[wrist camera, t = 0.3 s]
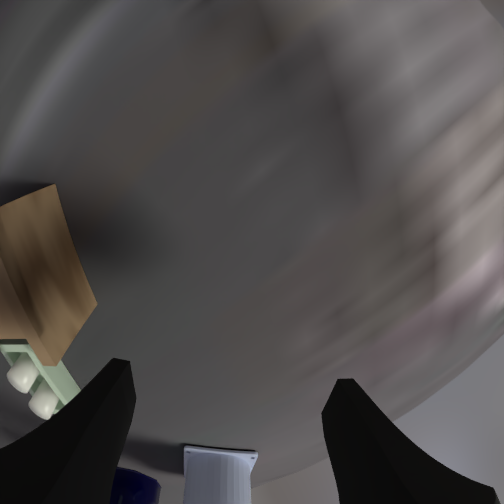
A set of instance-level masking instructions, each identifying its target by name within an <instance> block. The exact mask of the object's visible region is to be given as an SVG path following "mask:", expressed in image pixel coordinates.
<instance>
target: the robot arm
mask: <svg viewBox="0 0 504 504" xmlns="http://www.w3.org/2000/svg"><path fill="white" fill-rule="evenodd" d="M135 403H136V394H135V388H134V383H133V377H132V371H131V365H130V361H127V360H122V359H117V358H113V359H111V360H110V361H109V362H108V363H107V365H106V366H105V367H104V368H103V369H102V370H101V371H100V372H99V373H98V374H97V375H96V376H95V377H94V378H93V379H92V380H91V381H90V382H89V383H88V384H87V385H86V386H85V387H84V388H83V389H82V390H81V391H80V392H79V393H78V394H77V395H76V396H75V397H74V398H73V399H72V400H71V401H70V402H68V403H67V404H66V405H65V406H64V407H63V408H62V409H60V410H59V411H58V412H57V413H56V414H55V415H53V416H52V417H51V418H50V419H48V420H47V421H46V422H44V423H43V424H42V425H40V426H39V427H37V428H36V429H34V430H33V431H31V432H30V433H28V434H27V435H25V436H23V437H22V438H20V439H19V440H17V441H15V442H13V443H11V444H9V445H7V446H5V447H3V448H1V449H0V504H110V497H111V490H112V484H113V479H114V475H115V471H116V468H117V465H118V462H119V459H120V455H121V452H122V449H123V446H124V443H125V440H126V437H127V434H128V431H129V428H130V425H131V422H132V417H133V413H134V408H135ZM321 414H322V423H323V431H324V438H325V442H326V446H327V450H328V453H329V457H330V461H331V465H332V468H333V472H334V476H335V480H336V483H337V488H338V493H339V501H340V504H500V501H499V499H498V497H497V495H496V493H495V490H494V488H493V487H490V486H487V485H484V484H481V483H478V482H476V481H473V480H471V479H469V478H467V477H465V476H462V475H460V474H458V473H457V472H455V471H453V470H451V469H449V468H448V467H446V466H444V465H443V464H441V463H440V462H438V461H437V460H435V459H434V458H432V457H431V456H429V455H428V454H427V453H425V452H424V451H423V450H422V449H420V448H419V447H418V446H417V445H415V444H414V443H413V442H412V441H411V440H410V439H409V438H408V437H406V436H405V435H404V434H403V433H402V432H401V431H400V430H399V429H398V428H397V427H396V426H395V425H394V424H393V423H392V422H391V421H390V420H389V419H388V418H387V416H386V415H385V414H384V413H383V412H382V411H381V410H380V409H379V408H378V407H377V405H376V404H375V403H374V402H373V401H372V400H371V399H370V397H369V396H368V395H367V394H366V393H365V392H364V390H363V389H362V388H361V387H360V386H359V385H358V384H357V382H356V381H355V380H354V379H337V382H336V384H335V386H334V388H333V390H332V392H331V395H330V397H329V399H328V401H327V403H326V405H325V407H324V409H323V411H322V413H321ZM257 457H258V453H257V452H252V451H235V450H223V449H212V448H204V447H196V446H188V445H187V446H184V478H186V480H185V490H184V500H183V504H251V488H250V473H251V471H252V468H253V466H254V464H255V462H256V460H257Z"/></svg>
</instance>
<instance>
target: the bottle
mask: <svg viewBox="0 0 504 504" xmlns="http://www.w3.org/2000/svg"><path fill="white" fill-rule="evenodd" d="M160 489H161V486H160V485H159V483H158V482H157V480H155V479H153V478H151V477H148V476H146V475H144V474H142V473H139V472H137V471H135V470H130V469H125V468H120V467H117V468H116V471H115V475H114V479H113V484H112V490H111V497H110V504H158V503H159V496H160Z"/></svg>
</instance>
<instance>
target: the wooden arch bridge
mask: <svg viewBox="0 0 504 504" xmlns="http://www.w3.org/2000/svg"><path fill="white" fill-rule="evenodd" d="M96 306H97V302H96V299H95V297H94V295H93V293H92V290H91V288H90V285H89V283H88V281H87V278H86V276H85V273H84V271H83V268H82V265H81V263H80V260H79V258H78V255H77V252H76V249H75V247H74V244H73V241H72V238H71V235H70V232H69V229H68V226H67V223H66V220H65V216H64V213H63V210H62V206H61V203H60V200H59V196H58V192H57V189H56V185H55V184H53V185H50V186H48V187H45V188H43V189H40V190H38V191H35V192H33V193H30V194H28V195H25V196H23V197H21V198H18V199H16V200H14V201H12V202H9V203H7V204H5V205H3V206H1V207H0V339H27V341H28V343H29V344H30V346H31V348H32V349H33V351H34V353H35V354H36V356H37V358H38V359H39V361H40V362H41V364H42V365H43V366H57V365H58V363H59V361H60V360H61V358H62V357H63V355H64V353H65V352H66V350H67V349H68V347H69V346H70V344H71V342H72V341H73V339H74V338H75V336H76V335H77V333H78V332H79V330H80V329H81V327H82V326H83V324H84V323H85V321H86V320H87V318H88V317H89V316H90V314H91V313H92V311H93V310H94V308H95V307H96Z"/></svg>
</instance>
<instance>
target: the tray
mask: <svg viewBox="0 0 504 504" xmlns="http://www.w3.org/2000/svg"><path fill="white" fill-rule="evenodd" d="M0 350H1V352H2V353H3V355H4V357H5V358H6V360H7V361H8V363H9V364H10V366H11V369H10V370H9V372H8V373H7V378H8V380H9V382H10V383H11V384H12V386H13V387H15V388H16V389H17V390H18V391H20V392H22V393H27V392H28V391H29V392H30V394H31V395H32V396H33V397H32V398H31V400H30V402H29V407H30V409H31V410H32V411H33V412H34V413H35V414H36V415H38V416H39V417H41V418H43V419H46V420H48V419H50V417H51V415H52V413H53V414H56V413H57V412H58V411H59V410H60V409H62V408H63V407H64V406H65V405H66V404H67V403H68V402H70V401H71V400H72V399H73V398H74V397H75V396H76V395H77V394H78V393H79V392H80V391H81V390H80V388H79V387H78V385H77V384H76V382H75V381H74V379H73V378H72V376H71V375H70V373H69V372H68V370H67V369H66V367H65V366H64V364H63V363H62V361H61V360H60V361H59V363H58V365H57V366H43V365H42V364H41V362H40V361H39V359H38V358H37V356H36V354H35V353H34V351H33V349H32V348H31V346H30V344H29V343H28V341H27V339H1V340H0Z"/></svg>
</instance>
